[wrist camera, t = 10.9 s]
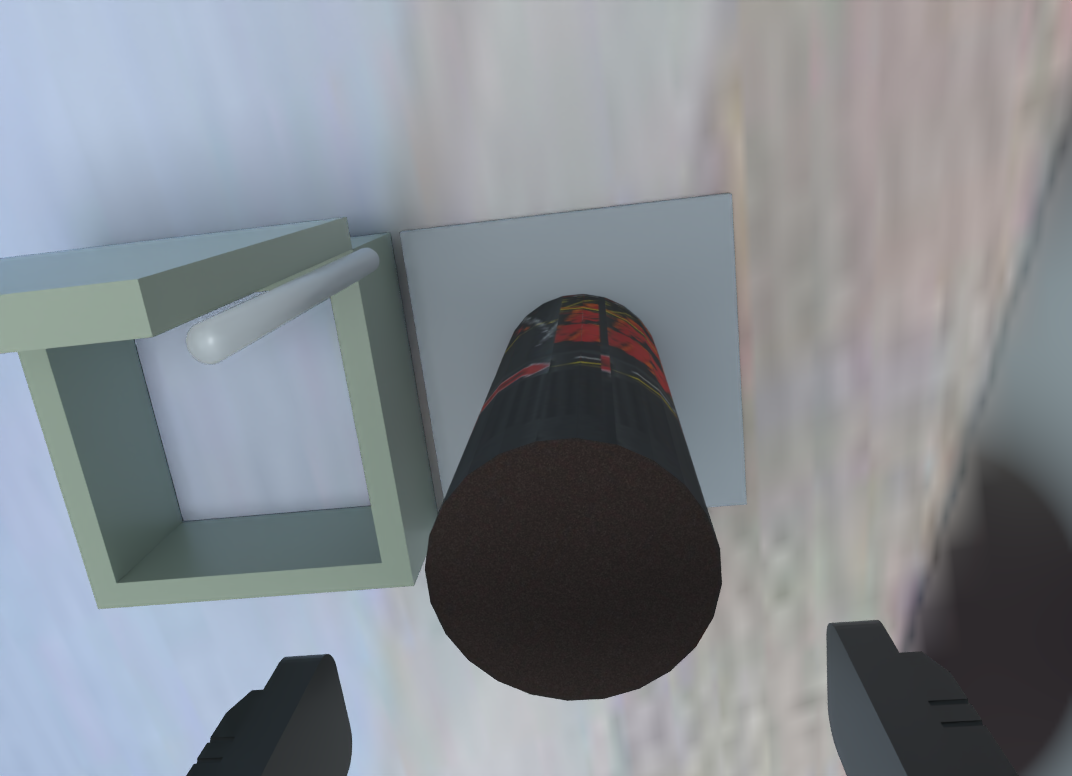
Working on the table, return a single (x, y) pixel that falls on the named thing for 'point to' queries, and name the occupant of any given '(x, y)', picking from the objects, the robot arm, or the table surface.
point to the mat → (595, 269)
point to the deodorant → (575, 514)
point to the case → (178, 297)
